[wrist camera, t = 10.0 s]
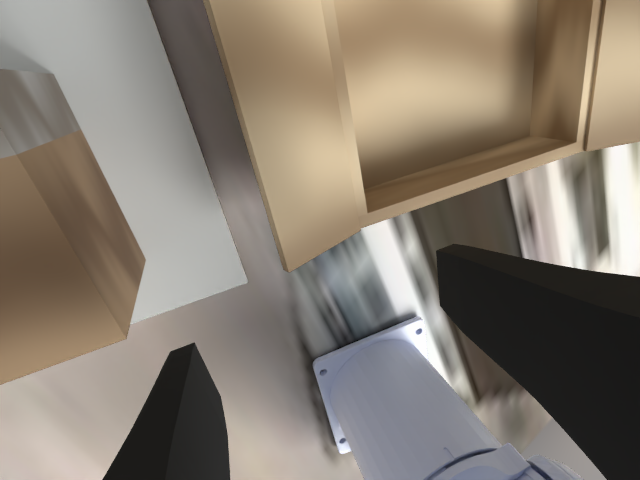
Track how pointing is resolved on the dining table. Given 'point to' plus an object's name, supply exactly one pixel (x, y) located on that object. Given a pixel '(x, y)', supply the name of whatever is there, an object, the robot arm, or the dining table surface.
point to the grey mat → (132, 137)
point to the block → (57, 235)
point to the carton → (416, 100)
